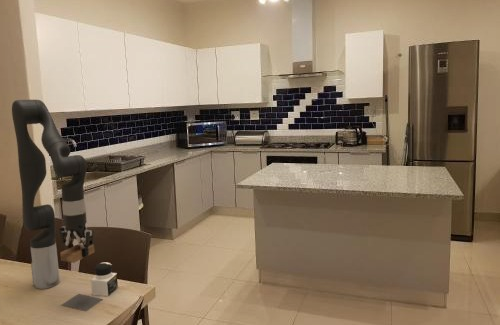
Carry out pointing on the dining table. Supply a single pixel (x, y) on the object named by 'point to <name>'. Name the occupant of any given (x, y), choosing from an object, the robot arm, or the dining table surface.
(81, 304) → the mat
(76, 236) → the robot arm
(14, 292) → the dining table surface
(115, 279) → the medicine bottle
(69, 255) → the lid
